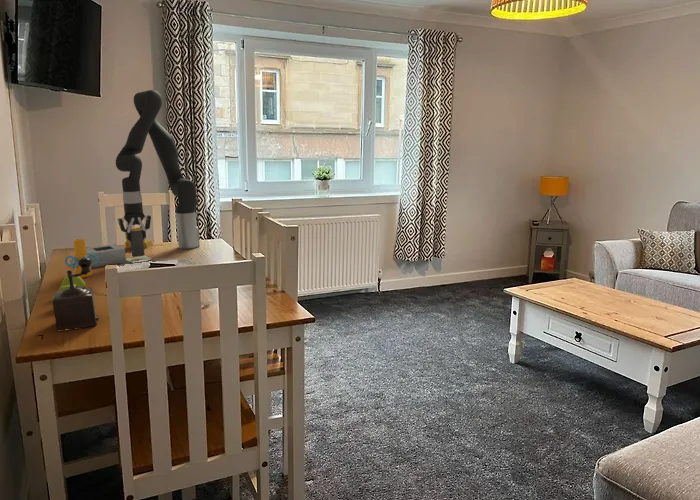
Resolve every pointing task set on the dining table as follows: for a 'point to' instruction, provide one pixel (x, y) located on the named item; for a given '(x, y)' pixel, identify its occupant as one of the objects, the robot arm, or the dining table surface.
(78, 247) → the yellow blue looped piece
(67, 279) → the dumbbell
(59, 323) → the coffee grinder
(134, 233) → the plug
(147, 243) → the yellow piece
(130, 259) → the mat
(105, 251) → the housing
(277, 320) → the dining table surface
